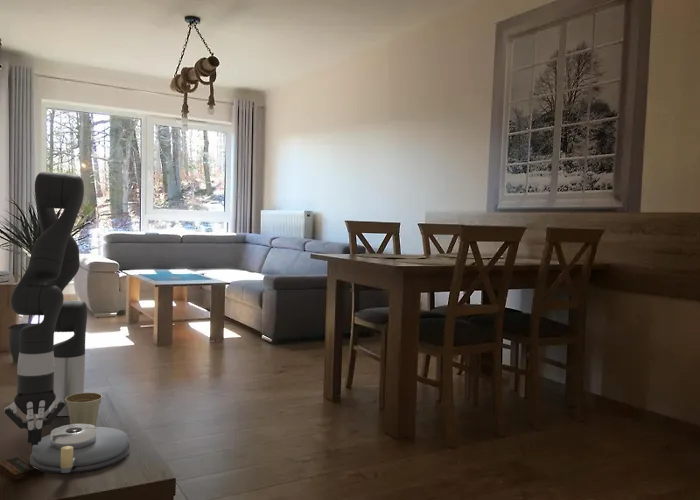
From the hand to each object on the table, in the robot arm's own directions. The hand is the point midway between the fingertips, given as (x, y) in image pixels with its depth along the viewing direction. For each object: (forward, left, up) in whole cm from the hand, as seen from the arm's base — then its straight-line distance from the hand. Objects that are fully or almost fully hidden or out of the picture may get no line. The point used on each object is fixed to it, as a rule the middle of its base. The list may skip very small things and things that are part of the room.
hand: (34, 444), depth 133 cm
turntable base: (0, +10, -4) cm, 11 cm away
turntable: (+2, +10, -3) cm, 11 cm away
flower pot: (-20, +14, -5) cm, 25 cm away
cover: (0, +8, -1) cm, 8 cm away
